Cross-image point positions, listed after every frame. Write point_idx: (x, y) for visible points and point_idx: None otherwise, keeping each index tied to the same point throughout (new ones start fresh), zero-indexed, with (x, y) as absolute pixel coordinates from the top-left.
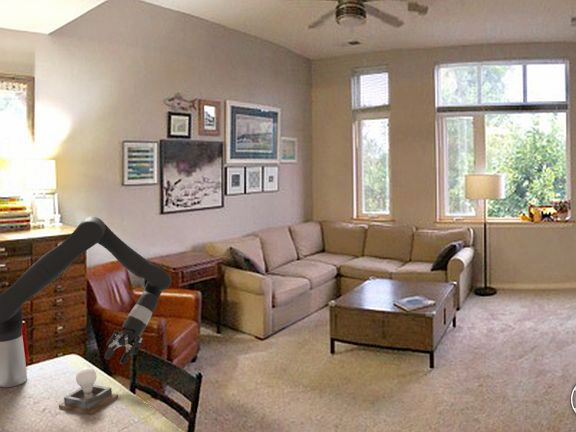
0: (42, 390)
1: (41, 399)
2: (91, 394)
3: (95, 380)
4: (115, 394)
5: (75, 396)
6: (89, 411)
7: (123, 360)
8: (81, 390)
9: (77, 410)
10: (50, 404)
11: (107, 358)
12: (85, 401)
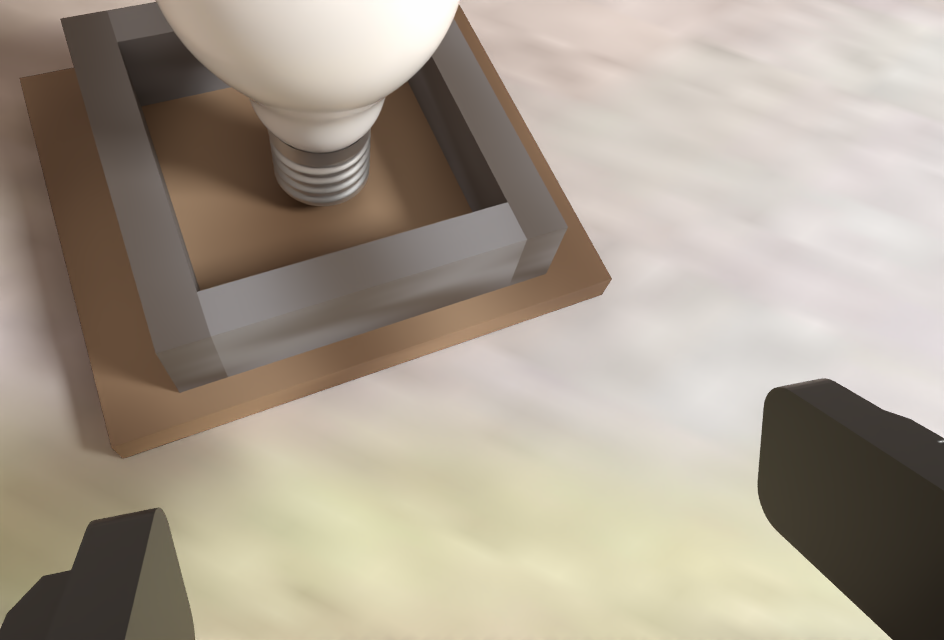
0: (910, 77)
1: (729, 10)
2: (280, 160)
3: (220, 79)
4: (150, 430)
5: (423, 76)
6: (46, 75)
7: (40, 603)
8: (461, 124)
9: None
10: (577, 10)
11: (773, 463)
12: (111, 16)
